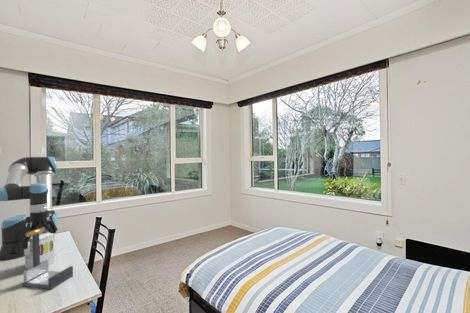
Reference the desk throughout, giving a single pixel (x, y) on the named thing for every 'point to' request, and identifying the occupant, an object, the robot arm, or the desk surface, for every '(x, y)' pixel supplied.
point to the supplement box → (42, 249)
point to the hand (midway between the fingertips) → (39, 249)
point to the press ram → (35, 257)
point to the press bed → (49, 279)
